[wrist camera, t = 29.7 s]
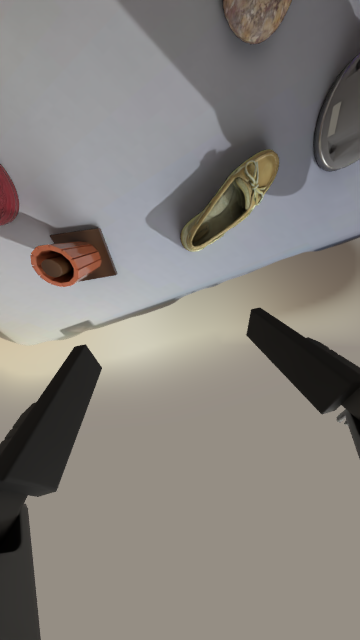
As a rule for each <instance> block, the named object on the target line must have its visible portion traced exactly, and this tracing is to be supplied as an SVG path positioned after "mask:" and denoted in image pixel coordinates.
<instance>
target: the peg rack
mask: <svg viewBox="0 0 360 640" xmlns="http://www.w3.org/2000/svg"><path fill="white" fill-rule="evenodd" d="M50 237H51V239H52V240H53V242H54V244H61V243H72V242H86V243H88V244H91V245H92V246H93V247H94V248H95V249H96V250H97V252H99V254H100V257H101V265H100V267H99V268H98V269H97V270H96V271H94V272H92V273H91V274H89V275H88V276H86V277H84V278H83V279H81V280H80V281H84V280H90V279H96V278H102V277H107V276H113V275H117V271H116V269H115V266H114V263H113V261H112V258H111V255H110V253H109V250H108V247H107V245H106V242H105V239H104V237H103V234H102V231H101V229H100V228H96V229H89V230H82V231H75V232H69V233H62V234H55V235H50ZM41 267H42V269H43V271H44V272H45V273H46V274H47V275H49V276H52V277H59V276H62V275H64V274H66V273H68V272H70V271H73V270H74V268H73V266H72V264H71V263H70V261H69V260H68V259H67V258H66V257H65V256H59V257H55V258H51V259H46V260H44V261H42V263H41ZM78 282H79V281H78Z"/></svg>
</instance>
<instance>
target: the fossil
mask: <svg viewBox="0 0 360 640" xmlns="http://www.w3.org/2000/svg"><path fill="white" fill-rule="evenodd" d="M291 1H292V0H223V8H224V13H225V17H226V19H227V20H228V23H229V26H230V28H231V29H232V31H233V32H234V33H235V35H236V36H237V37H238V38H240V39H241V40H242V41H243V42H246V43H250V44H259V43H261V42H263V41H265V40H266V39H267V38H268V37H269V36H271V35H272V34H273V33H274V32H275V31H276V30H277V28H278V27H279V25H280V23H281V22H282V20H283V18H284V16H285V14H286V12H287V10H288V8H289V6H290V3H291Z"/></svg>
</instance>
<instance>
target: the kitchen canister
mask: <svg viewBox="0 0 360 640" xmlns="http://www.w3.org/2000/svg"><path fill="white" fill-rule="evenodd" d="M18 210H19V200H18V195H17V192H16V189H15V186H14V184H13V182H12V180H11V179H10V177H9V175H8V174H7V172H6V171H5V169H4V168H3V167H2V165H1V164H0V226H1V225H5V224H8V223H10V222H12V221H13V220H14V219H15V218H16V216H17V214H18Z"/></svg>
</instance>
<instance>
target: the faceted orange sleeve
mask: <svg viewBox="0 0 360 640" xmlns="http://www.w3.org/2000/svg"><path fill="white" fill-rule="evenodd" d="M31 254H32V255H31V264H32V265H34V266H32V267H33V268H34V270H35V271H36V272H37V274H38V275H41V276H40V277H41V278H42V279H44V280H45V281H47V282H48V283H51V284H53V285H56V286H60V287H62V286H63V287H66V286H71V285H73V284H75V283H77V282H78V281H80V280H81V279H83V278H84V277H86V276H88V275H89V274H91V273H92V272H94V271H96V270H97V269H98V268H99V267H100V265H101V257H100V254H99V252H97V250H96V249H95V248H94V247H93V246H92V245H91V244H88V243H86V242H72V243H61V244H50V245H42V246H38V247H36V248H35V249H34V250H33V252H32V253H31ZM59 256H65V257H66V258H67V259H68V260H69V261H70V263H71V264H72V266H73V268H74V270H73V271H70V272H68V273H66V274H64V275H62V276H59V277H52V276H49V275H47V274H46V273H45V272H44V271H43V269H42V267H41V263H42V261H44V260H46V259H51V258H55V257H59Z"/></svg>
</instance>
